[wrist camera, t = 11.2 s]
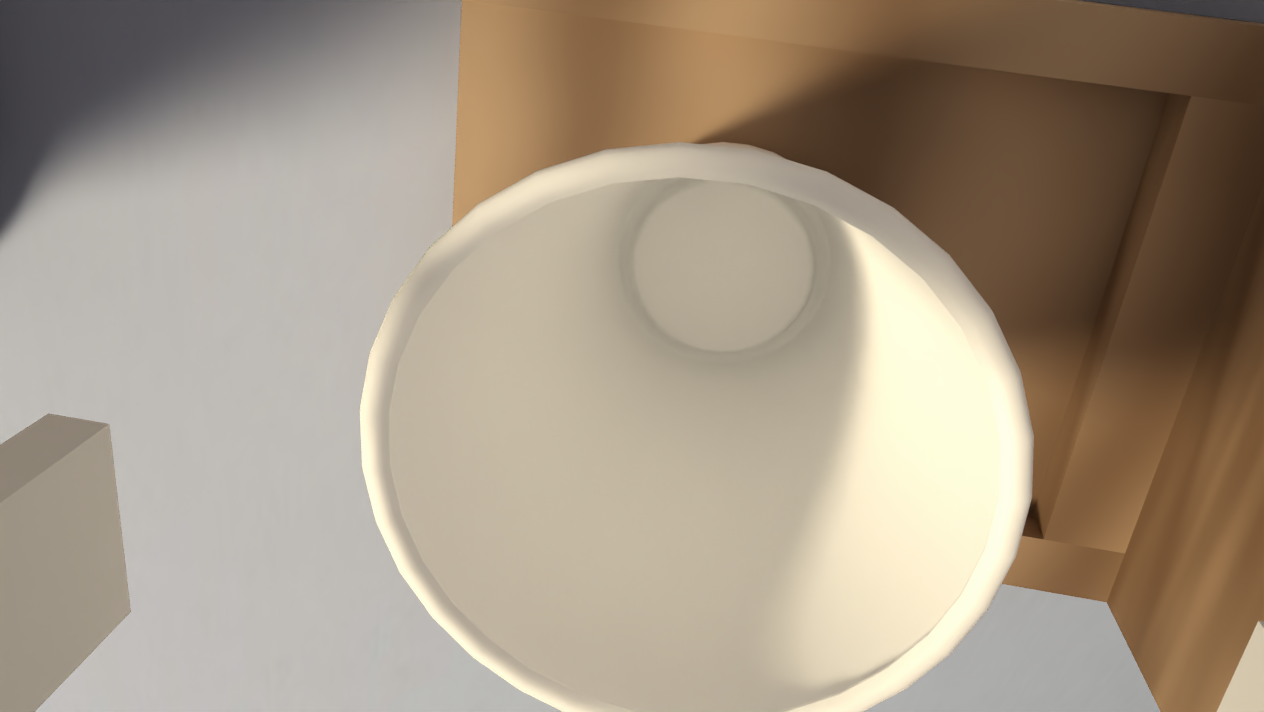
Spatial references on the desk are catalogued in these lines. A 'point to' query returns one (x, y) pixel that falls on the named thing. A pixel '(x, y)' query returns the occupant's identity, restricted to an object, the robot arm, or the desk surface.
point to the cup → (696, 437)
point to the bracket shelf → (991, 237)
